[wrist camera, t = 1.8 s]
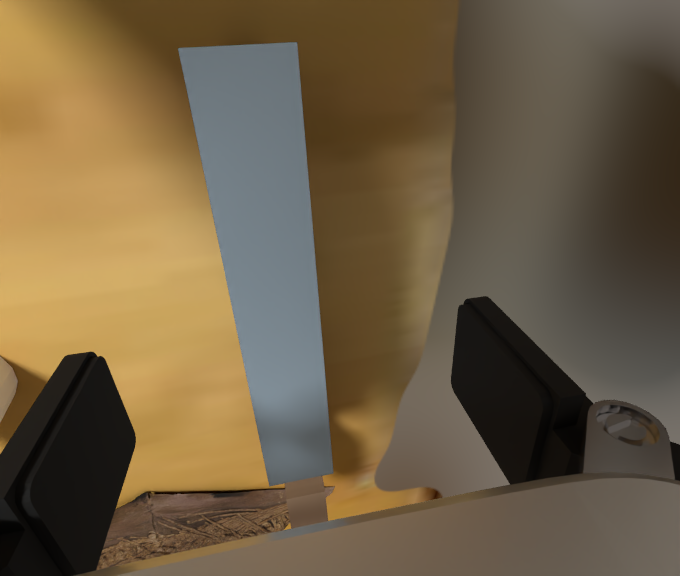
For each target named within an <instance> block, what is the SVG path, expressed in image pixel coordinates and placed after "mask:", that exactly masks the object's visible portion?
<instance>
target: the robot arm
mask: <svg viewBox="0 0 680 576" xmlns="http://www.w3.org/2000/svg"><path fill="white" fill-rule="evenodd" d="M457 316H458V317H457V325H456V336H455V346H454V355H453V366H452V375H451V384H452V388H453V390H454V393H455V394H456V396H457V398H458V399H459V401H460V403H461V404H462V406H463V408H464V409H465V411H466V413H467V414H468V416H469V418H470V419H471V421H472V422H473V424H474V426H475V427H476V429H477V431H478V432H479V434H480V435H481V437H482V439H483V440H484V442H485V444H486V445H487V447H488V449H489V450H490V452H491V454H492V455H493V457H494V458H495V460H496V462H497V463H498V465H499V467H500V468H501V470H502V472H503V473H504V475H505V476H506V478H507V480H508V481H509V483H510V485H507V486H501V487H496V488H491V489H485V490H480V491H475V492H470V493H465V494H460V495H455V496H450V497H445V498H440V499H435V500H430V501H425V502H420V503H415V504H410V505H405V506H400V507H395V508H390V509H385V510H380V511H375V512H370V513H366V514H361V515H356V516H351V517H346V518H341V519H336V520H331V521H327V522H322V523H317V524H312V525H307V526H302V527H298V528H293V529H288V530H283V531H278V532H273V533H269V534H264V535H259V536H254V537H249V538H245V539H240V540H235V541H230V542H226V543H221V544H216V545H211V546H207V547H202V548H197V549H193V550H188V551H183V552H178V553H174V554H169V555H164V556H160V557H155V558H150V559H145V560H141V561H136V562H131V563H127V564H122V565H118V566H114V567H109V568H105V569H101V570H96V569H97V566H98V563H99V560H100V556H101V553H102V550H103V547H104V544H105V540H106V537H107V534H108V531H109V528H110V525H111V521H112V518H113V515H114V512H115V509H116V506H117V502H118V499H119V496H120V493H121V490H122V486H123V483H124V480H125V477H126V474H127V471H128V467H129V464H130V461H131V458H132V455H133V452H134V448H135V443H136V437H135V432H134V429H133V427H132V424H131V422H130V420H129V417H128V415H127V412H126V410H125V407H124V405H123V402H122V400H121V397H120V395H119V392H118V390H117V388H116V385H115V383H114V380H113V378H112V375H111V373H110V370H109V368H108V365H107V363H106V361H105V359H104V358H103V357H102V356H99V357H97V355H96V354H95V353H94V352H86V353H79V354H72V355H67V356H65V357H64V358H63V360H62V361H61V363H60V364H59V366H58V367H57V369H56V370H55V372H54V373H53V375H52V376H51V378H50V379H49V381H48V382H47V384H46V386H45V387H44V389H43V390H42V392H41V393H40V395H39V396H38V398H37V399H36V401H35V402H34V404H33V405H32V407H31V408H30V410H29V411H28V413H27V415H26V416H25V418H24V419H23V421H22V422H21V424H20V425H19V427H18V428H17V430H16V431H15V433H14V434H13V436H12V437H11V439H10V440H9V442H8V444H7V445H6V447H5V448H4V450H3V451H2V453H1V454H0V576H680V445H679V444H676V443H673V442H670V440H669V435H668V432H667V430H666V428H665V427H664V425H663V424H662V423H661V422H660V421H659V420H658V419H657V418H656V417H654V416H653V415H652V414H651V413H649V412H647V411H646V410H644V409H642V408H640V407H638V406H636V405H633V404H630V403H627V402H623V401H618V400H603V401H598V402H595V403H594V404H593V403H592V402H591V401H590V400H589V399H588V398H587V397H586V396H585V395H586V393H585V392H584V391H582V389H581V388H580V387H579V386H578V385H577V384H576V383H575V382H574V381H573V380H571V378H570V377H568V375H566V373H564V372H563V371H562V370H561V369H560V368H559V367H558V366H557V365H556V364H555V363H554V362H553V361H552V360H551V359H550V358H549V357H548V356H547V355H546V354H545V353H544V352H543V351H542V350H541V349H540V348H539V347H538V346H537V345H536V344H535V343H534V342H533V341H532V340H531V339H530V338H529V337H528V336H527V335H526V334H525V333H524V332H523V331H522V330H521V329H520V328H519V327H518V326H517V325H516V324H515V323H514V322H513V321H512V320H511V319H510V318H509V317H508V316H507V315H506V314H505V313H504V312H503V311H502V310H501V309H500V308H499V307H498V306H497V305H496V304H495V303H494V302H493V301H492V300H491V299H490V298H488V297H486V296H485V297H478V298H470V299H466V300H465V301H464V304H463V305H460V306H459V308H458V315H457Z"/></svg>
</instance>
